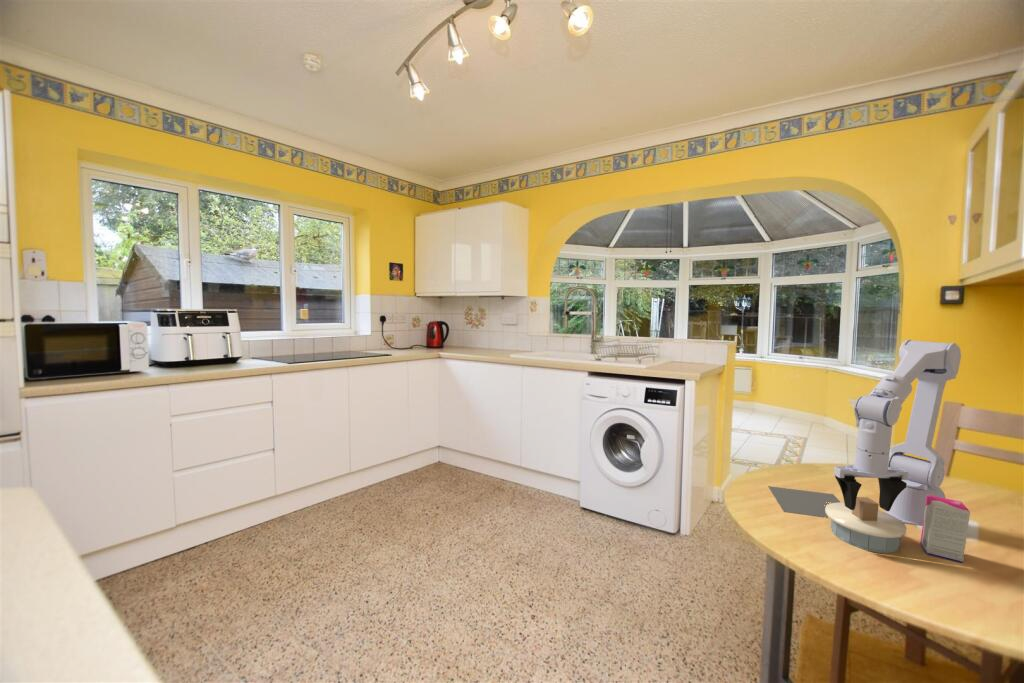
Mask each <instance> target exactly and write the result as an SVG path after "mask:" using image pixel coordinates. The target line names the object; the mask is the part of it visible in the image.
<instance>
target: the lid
mask: <svg viewBox="0 0 1024 683" xmlns="http://www.w3.org/2000/svg"><path fill="white" fill-rule="evenodd" d="M879 507H880V506H879V503H878V502H876V501H874V500H873V499H872V498H869V497H868V496H866V497H865V496H857V498H856V506H855V509H854V510H850V509H849V508H847V507H846V506H845V503H844V502H841V503H831V504H828V505H827V506H826V507H825V513H826V515H827V516H828V517H829V518H828V519H829V520H830V521H831V520H833V521H834V522H836V523H837V524H839V525H841V526H843V527H846V528H848V529H851V530H854V531H856V532H860V533H863V534H867V535H872V536H877V537H884V538H898V537H901V538H903V537H904V536H905V535H906V534H907V530H908V529H907V526H906V523H903V522H902V521H900V520H899V519H897V518H896V517H894V516H892V515H890V514H888V513H887V512H886V511H884V510H883V511H882V510H880V509H879Z"/></svg>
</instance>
